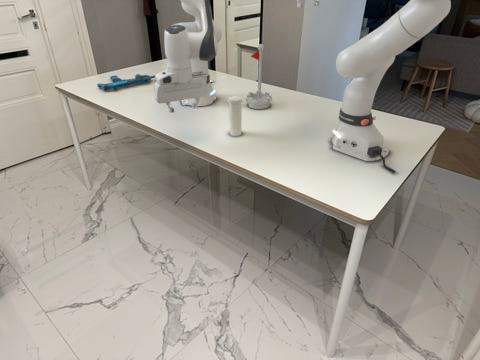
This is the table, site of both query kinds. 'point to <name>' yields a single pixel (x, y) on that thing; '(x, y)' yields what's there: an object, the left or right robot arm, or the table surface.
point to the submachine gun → (124, 82)
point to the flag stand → (259, 87)
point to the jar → (235, 119)
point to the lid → (235, 100)
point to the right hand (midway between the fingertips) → (308, 6)
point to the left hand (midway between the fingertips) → (183, 110)
